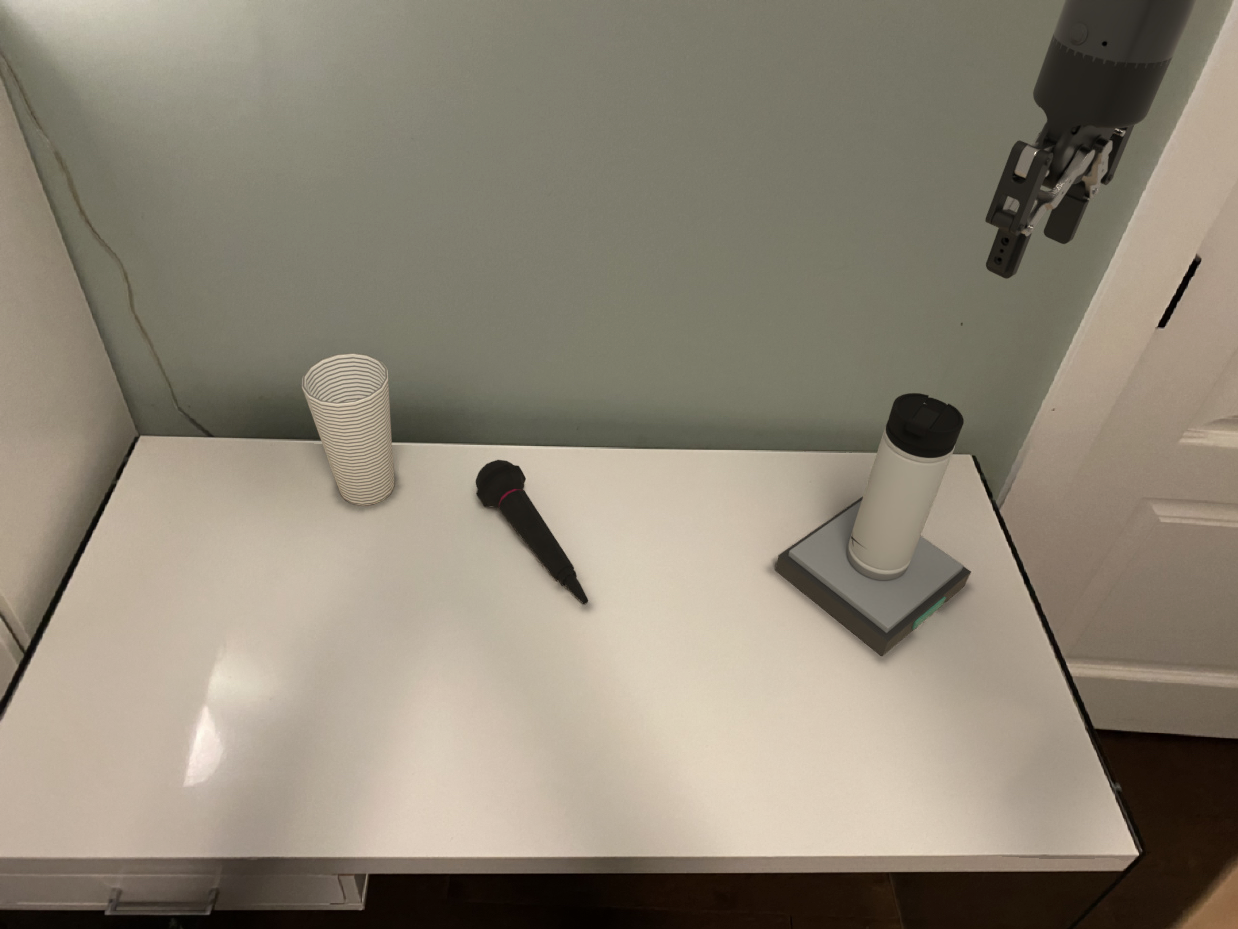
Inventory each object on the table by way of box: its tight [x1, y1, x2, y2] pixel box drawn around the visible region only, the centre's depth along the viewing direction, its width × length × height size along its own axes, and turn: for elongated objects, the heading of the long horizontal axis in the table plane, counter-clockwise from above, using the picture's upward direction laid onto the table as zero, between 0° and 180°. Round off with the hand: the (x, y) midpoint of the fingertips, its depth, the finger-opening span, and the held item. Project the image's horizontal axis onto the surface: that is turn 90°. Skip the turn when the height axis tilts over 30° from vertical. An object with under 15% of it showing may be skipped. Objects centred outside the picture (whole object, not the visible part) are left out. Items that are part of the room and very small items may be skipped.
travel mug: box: [847, 392, 965, 581], centre depth 86 cm, size 6×7×20 cm
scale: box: [774, 496, 972, 657], centre depth 94 cm, size 14×14×3 cm
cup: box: [301, 352, 395, 506], centre depth 97 cm, size 8×8×16 cm
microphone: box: [475, 459, 589, 605], centre depth 96 cm, size 6×6×20 cm
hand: (1028, 255), depth 71 cm, fingers open, 8 cm apart
